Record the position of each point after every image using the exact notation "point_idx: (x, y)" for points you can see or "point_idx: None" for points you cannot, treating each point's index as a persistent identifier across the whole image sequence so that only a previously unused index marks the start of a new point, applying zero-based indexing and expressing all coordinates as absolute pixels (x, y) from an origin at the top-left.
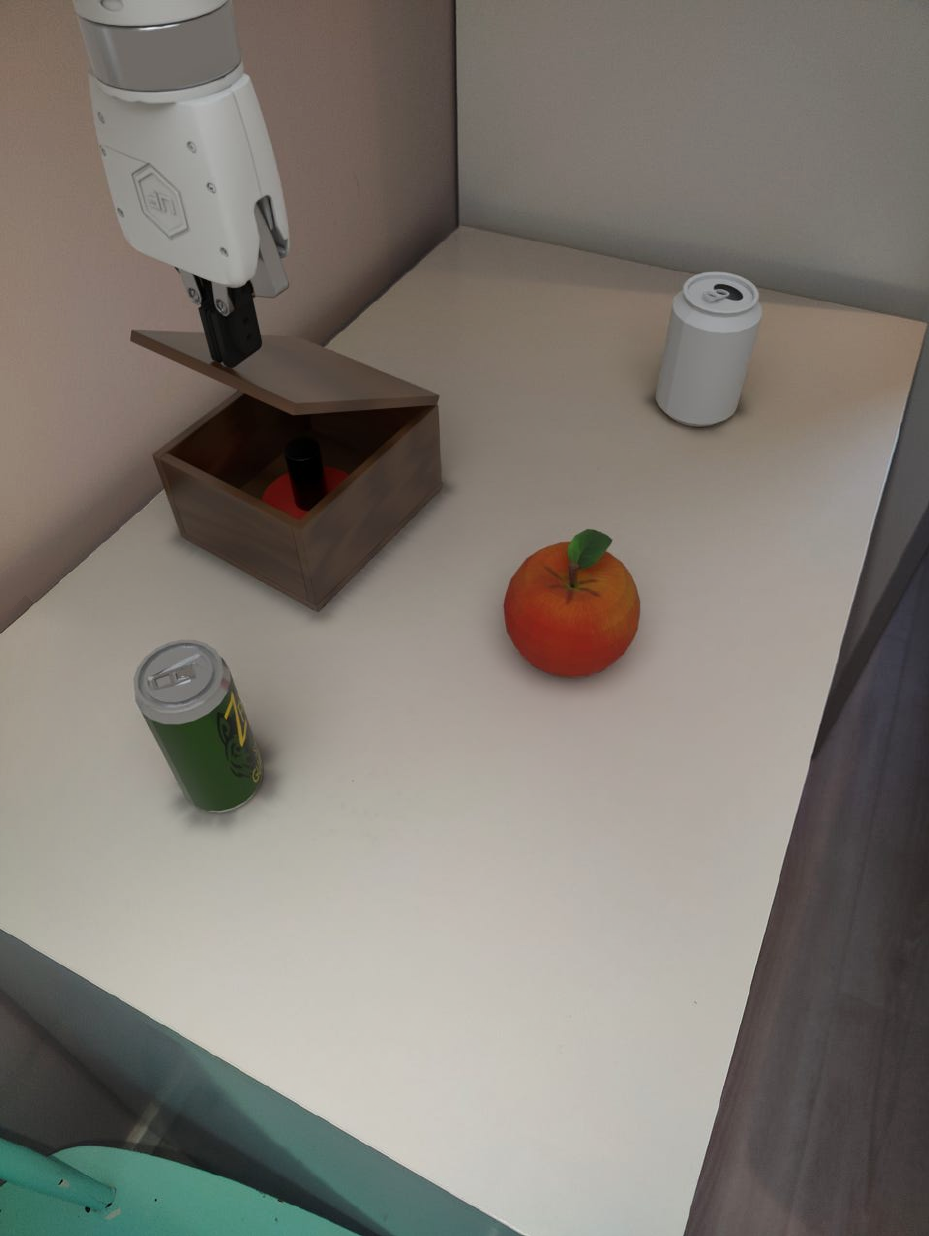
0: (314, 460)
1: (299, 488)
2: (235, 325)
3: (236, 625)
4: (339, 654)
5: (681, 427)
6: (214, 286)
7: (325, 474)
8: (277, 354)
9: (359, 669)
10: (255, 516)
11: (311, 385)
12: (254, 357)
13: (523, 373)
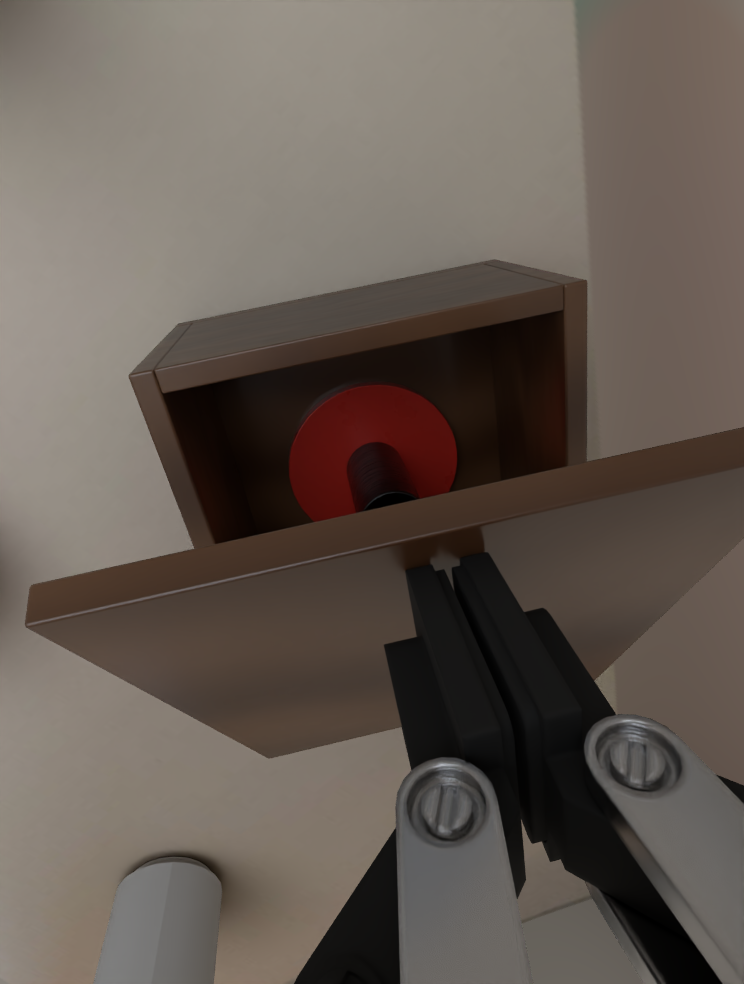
0: None
1: (369, 464)
2: (410, 732)
3: (247, 195)
4: (68, 289)
5: (152, 855)
6: (500, 920)
7: None
8: None
9: (16, 293)
10: (269, 338)
11: (270, 667)
12: None
13: (371, 793)
